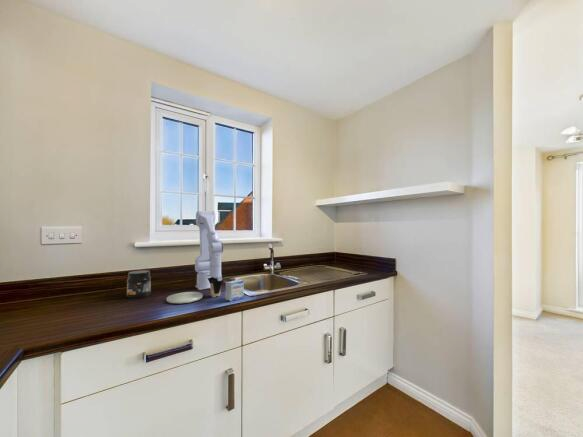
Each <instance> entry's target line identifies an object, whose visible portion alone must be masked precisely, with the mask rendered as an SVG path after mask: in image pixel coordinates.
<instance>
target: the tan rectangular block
mask: <svg viewBox="0 0 583 437" xmlns="http://www.w3.org/2000/svg"><path fill="white" fill-rule="evenodd" d="M221 287H222V286H221ZM221 287H220V291H219V293H218V294H215V293H214V287H213V283H211V284H210V288H209V292H210V293H209V296H211V297H212V298H216V296H218V297H221V295H222V294H221Z"/></svg>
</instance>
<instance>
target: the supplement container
mask: <svg viewBox="0 0 583 437" xmlns="http://www.w3.org/2000/svg"><path fill="white" fill-rule="evenodd" d="M150 275H151V271H150V270H145V269H144V270H143V269H141V270H134V271H130V272H128V274H127V277H128V278H127V279H126V297H128V298H129V299H130V298H131V299H137V298H138V299H139V298H144V297H146V296H149V295H151V292H152V288H151V286H152V284H151V283H152V282H151V281H152V280H151V279H152V276H150Z"/></svg>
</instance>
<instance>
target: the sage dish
mask: <svg viewBox="0 0 583 437" xmlns="http://www.w3.org/2000/svg"><path fill="white" fill-rule="evenodd" d="M203 296H204V295H203V293H202V292H198V291H184V292H179V293H173V294H171V295H168V296H167V297H166V302H167V303H169V304H187V303H188V304H189V303H192V302H197V301H199V300H201V299H203Z"/></svg>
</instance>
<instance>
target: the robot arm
mask: <svg viewBox="0 0 583 437" xmlns="http://www.w3.org/2000/svg"><path fill="white" fill-rule="evenodd" d="M215 221H216V213H215V211H209V210H208V211H207V210H197V211H196V213H195V225H196V226H197V227H198V228H199V249H200V250H199V251H200V252H199V253H200V254H199V255H198V256H197V257H196V258H195V259H194V260H195V261H194V270H195V272H196V273H197V274H196V285H195V288H196V289H197V290H198V291H199V290H205V289H210V284H211V283H213V287H214V293H215V294H218V293H219V291H220V287H222V284H223V282H224V279H223V276H222V254H223V252H224V242H222V240H220V237H219V234H218V232H217V231H216V230H215V225H214V224H215Z"/></svg>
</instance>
